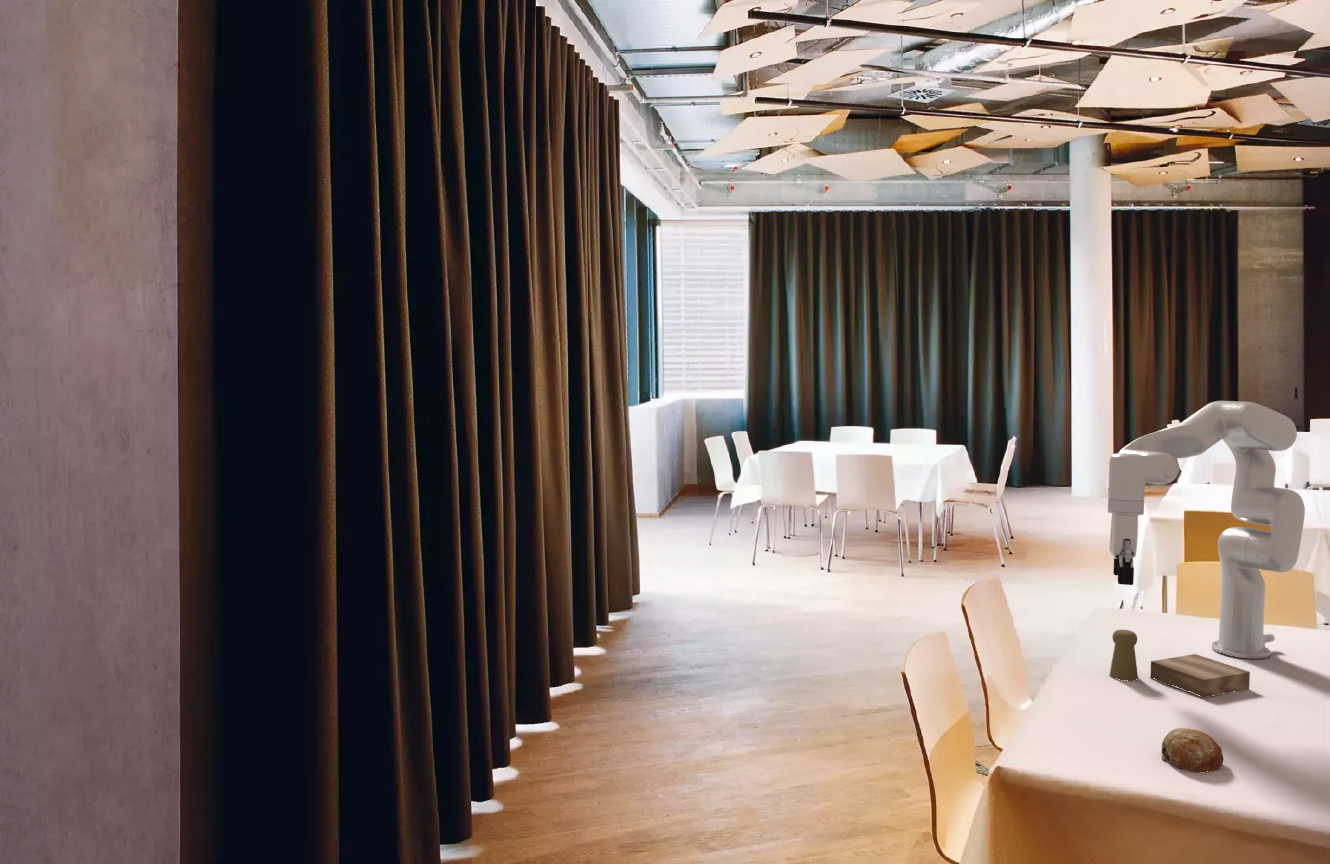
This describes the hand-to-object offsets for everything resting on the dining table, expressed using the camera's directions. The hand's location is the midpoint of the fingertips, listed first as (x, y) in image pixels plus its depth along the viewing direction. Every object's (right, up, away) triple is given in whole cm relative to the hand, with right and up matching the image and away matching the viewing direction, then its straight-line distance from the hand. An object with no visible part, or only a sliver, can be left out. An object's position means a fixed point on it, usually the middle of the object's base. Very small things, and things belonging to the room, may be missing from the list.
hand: (1123, 579), depth 221 cm
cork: (+1, -23, +2) cm, 23 cm away
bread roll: (-9, -27, -45) cm, 53 cm away
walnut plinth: (+16, -23, -3) cm, 28 cm away
